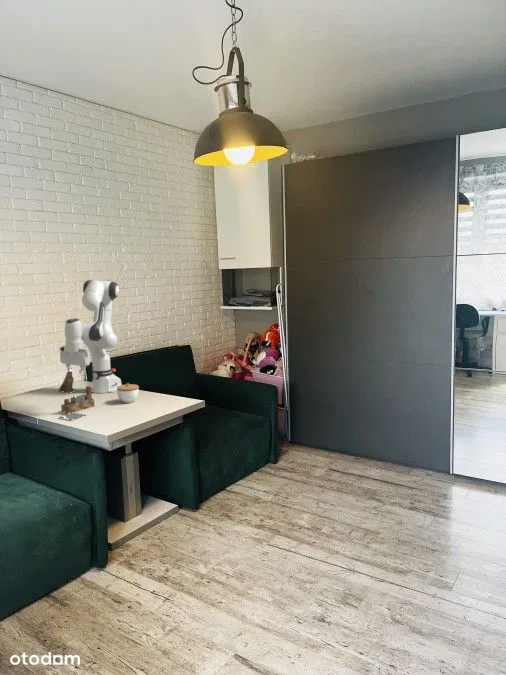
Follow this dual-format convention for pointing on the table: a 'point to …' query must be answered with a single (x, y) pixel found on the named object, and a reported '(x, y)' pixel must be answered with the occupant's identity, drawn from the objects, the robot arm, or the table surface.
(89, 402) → the plane body
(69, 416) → the felt mat
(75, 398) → the lever cap
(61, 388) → the worn brown figurine
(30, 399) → the table surface
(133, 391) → the lidded bowl
